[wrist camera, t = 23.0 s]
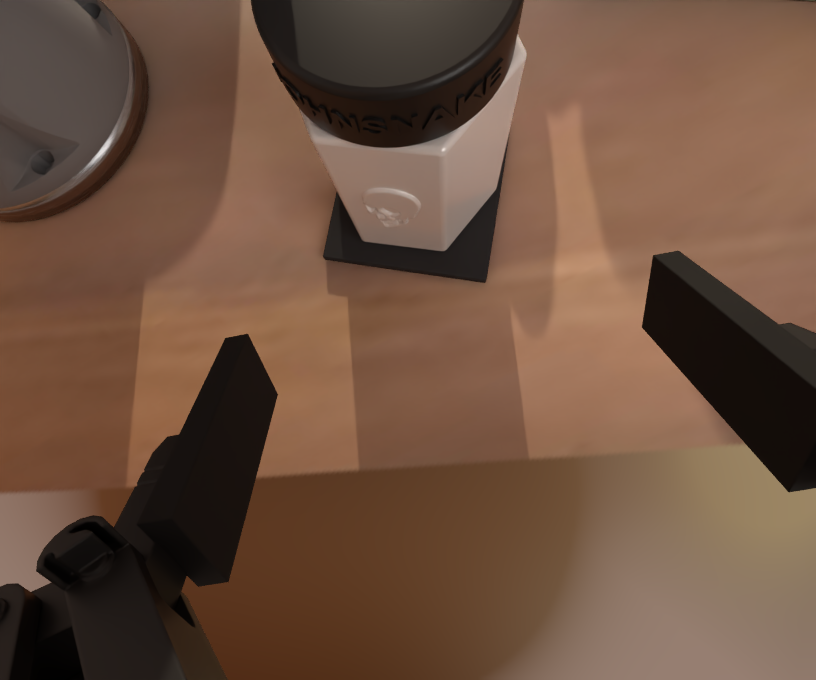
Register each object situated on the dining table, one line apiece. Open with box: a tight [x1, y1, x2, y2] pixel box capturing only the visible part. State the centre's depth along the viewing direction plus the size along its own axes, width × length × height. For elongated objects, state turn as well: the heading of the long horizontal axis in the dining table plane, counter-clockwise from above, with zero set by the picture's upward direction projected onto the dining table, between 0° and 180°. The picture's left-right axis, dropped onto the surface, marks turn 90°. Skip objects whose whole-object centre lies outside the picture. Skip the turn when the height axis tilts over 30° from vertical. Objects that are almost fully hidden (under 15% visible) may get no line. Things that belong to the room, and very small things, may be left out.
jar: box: [251, 0, 527, 251], centre depth 18 cm, size 9×8×12 cm
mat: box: [323, 136, 509, 283], centre depth 24 cm, size 9×9×1 cm
